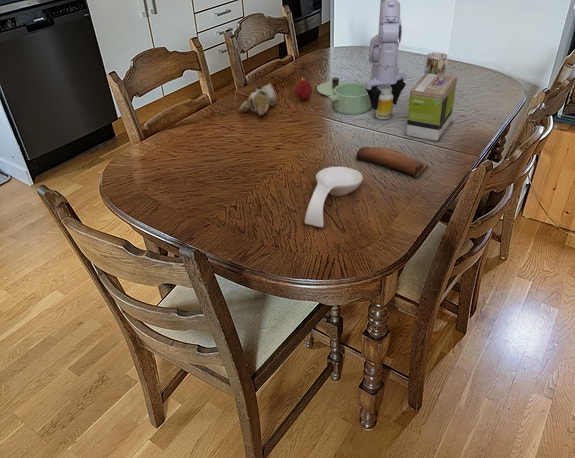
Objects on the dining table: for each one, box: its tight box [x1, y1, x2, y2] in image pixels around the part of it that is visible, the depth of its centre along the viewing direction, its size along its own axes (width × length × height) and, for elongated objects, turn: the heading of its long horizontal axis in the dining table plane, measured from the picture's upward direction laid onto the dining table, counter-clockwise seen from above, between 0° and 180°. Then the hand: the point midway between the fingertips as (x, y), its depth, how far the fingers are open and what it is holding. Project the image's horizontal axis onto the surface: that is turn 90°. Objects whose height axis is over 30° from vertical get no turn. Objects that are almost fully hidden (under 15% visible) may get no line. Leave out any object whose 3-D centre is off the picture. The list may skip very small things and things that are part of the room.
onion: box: [294, 77, 313, 101], centre depth 173 cm, size 6×6×8 cm
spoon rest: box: [304, 166, 364, 228], centre depth 122 cm, size 24×12×7 cm, turn 157°
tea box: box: [405, 73, 458, 142], centre depth 150 cm, size 15×10×15 cm
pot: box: [327, 82, 372, 115], centre depth 168 cm, size 12×18×6 cm
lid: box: [316, 76, 347, 97], centre depth 180 cm, size 13×13×5 cm
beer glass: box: [423, 52, 448, 76], centre depth 167 cm, size 7×7×15 cm
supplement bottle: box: [374, 86, 394, 120], centre depth 160 cm, size 5×5×10 cm
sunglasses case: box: [355, 146, 427, 178], centre depth 137 cm, size 18×7×7 cm
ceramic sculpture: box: [235, 82, 277, 117], centre depth 167 cm, size 11×9×15 cm
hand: (384, 106), depth 160 cm, fingers open, 7 cm apart
